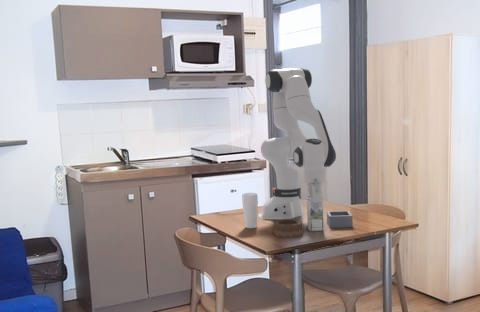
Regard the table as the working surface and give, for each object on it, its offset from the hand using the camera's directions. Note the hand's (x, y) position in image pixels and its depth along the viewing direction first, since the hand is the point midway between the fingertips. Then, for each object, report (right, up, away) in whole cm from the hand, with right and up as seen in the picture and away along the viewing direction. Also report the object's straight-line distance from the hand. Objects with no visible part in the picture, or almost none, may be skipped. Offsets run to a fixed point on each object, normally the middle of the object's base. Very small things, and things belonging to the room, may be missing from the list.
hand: (315, 209), depth 215 cm
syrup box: (0, -9, +1) cm, 9 cm away
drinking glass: (-27, -9, +10) cm, 30 cm away
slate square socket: (+12, -7, +8) cm, 16 cm away
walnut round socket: (-12, -10, -4) cm, 16 cm away
